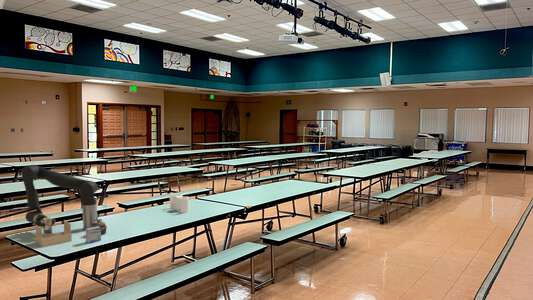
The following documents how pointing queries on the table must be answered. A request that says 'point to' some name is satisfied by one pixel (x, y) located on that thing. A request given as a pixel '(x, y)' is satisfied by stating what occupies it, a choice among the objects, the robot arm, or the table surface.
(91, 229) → the medicine box
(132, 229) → the table surface
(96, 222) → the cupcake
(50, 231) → the box
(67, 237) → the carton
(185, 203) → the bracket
